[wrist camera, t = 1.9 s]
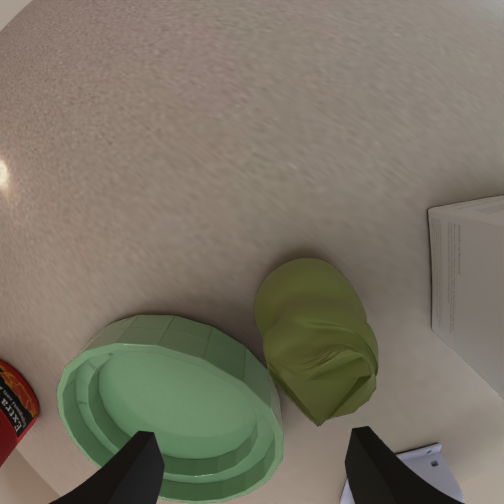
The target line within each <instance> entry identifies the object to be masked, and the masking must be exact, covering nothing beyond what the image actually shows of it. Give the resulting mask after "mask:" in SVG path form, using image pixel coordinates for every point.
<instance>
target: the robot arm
mask: <svg viewBox="0 0 504 504" xmlns="http://www.w3.org/2000/svg"><path fill="white" fill-rule="evenodd" d="M441 447H442V446H441V444H435V445H431V446H428V447H424V448H421V449H417V450H413V451H410V452H406V453H402V454H397V455H395V454H394V453H393V452H392V451H391V450H390V449H389V448H388V447H387V446H386V445H385V444H384V443H383V441H382V440H381V439H380V438H379V437H378V436H377V435H376V434H375V433H374V431H373V430H372V429H371V428H370V427H369V426H365V427H359V428H352V432H351V437H350V442H349V446H348V450H347V454H346V459H345V467H346V473H347V480H346V483H345V486H344V489H343V493H342V496H341V499H340V502H339V504H464V498H463V494H462V491H461V489H460V486H459V485H458V483H457V481H456V479H455V478H454V476H453V474H452V472H451V471H450V469H449V467H448V465H447V464H446V462H445V460H444V459H443V457H442V455H441V453H440V450H441ZM164 468H165V464H164V461H163V458H162V455H161V452H160V449H159V446H158V443H157V440H156V437H155V434H154V432H149V431H141V430H139V431H137V432H136V433H135V434H134V436H133V437H132V438H131V439H130V440H129V441H128V442H127V443H126V444H125V445H124V446H123V447H122V448H121V449H120V450H119V451H118V452H117V453H116V454H115V455H114V456H113V457H112V458H111V459H110V460H109V461H108V462H107V463H106V464H105V465H104V466H103V467H102V468H101V469H99V470H98V471H97V472H96V473H95V474H93V475H92V476H91V477H90V478H89V479H87V480H86V481H85V482H84V483H82V484H81V485H79V486H78V487H77V488H75V489H74V490H72V491H71V492H69V493H67V494H66V495H64V496H62V497H60V498H59V499H57V500H55V501H53V502H51V503H49V504H156V502H157V499H158V496H159V493H160V489H161V486H162V480H163V474H164Z"/></svg>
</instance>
